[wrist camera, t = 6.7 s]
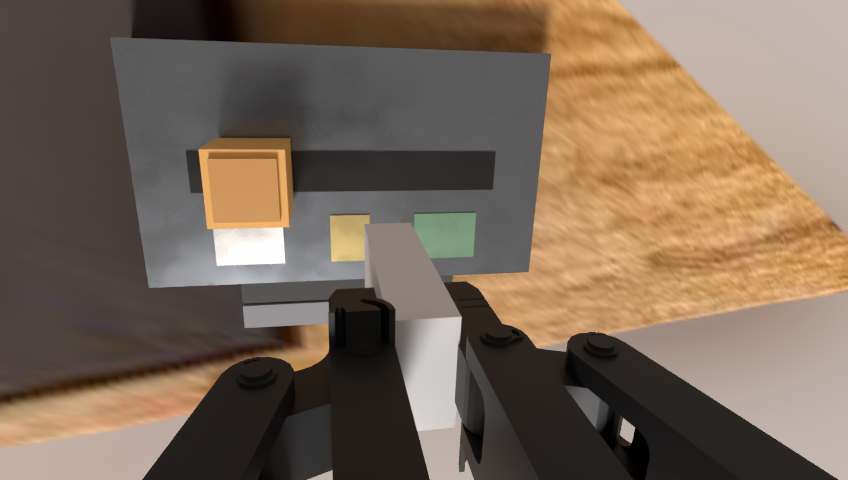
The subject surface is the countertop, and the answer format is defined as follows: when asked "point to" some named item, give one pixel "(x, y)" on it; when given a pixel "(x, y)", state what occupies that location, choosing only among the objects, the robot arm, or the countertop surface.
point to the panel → (335, 154)
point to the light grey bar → (285, 313)
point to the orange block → (247, 182)
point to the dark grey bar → (301, 290)
